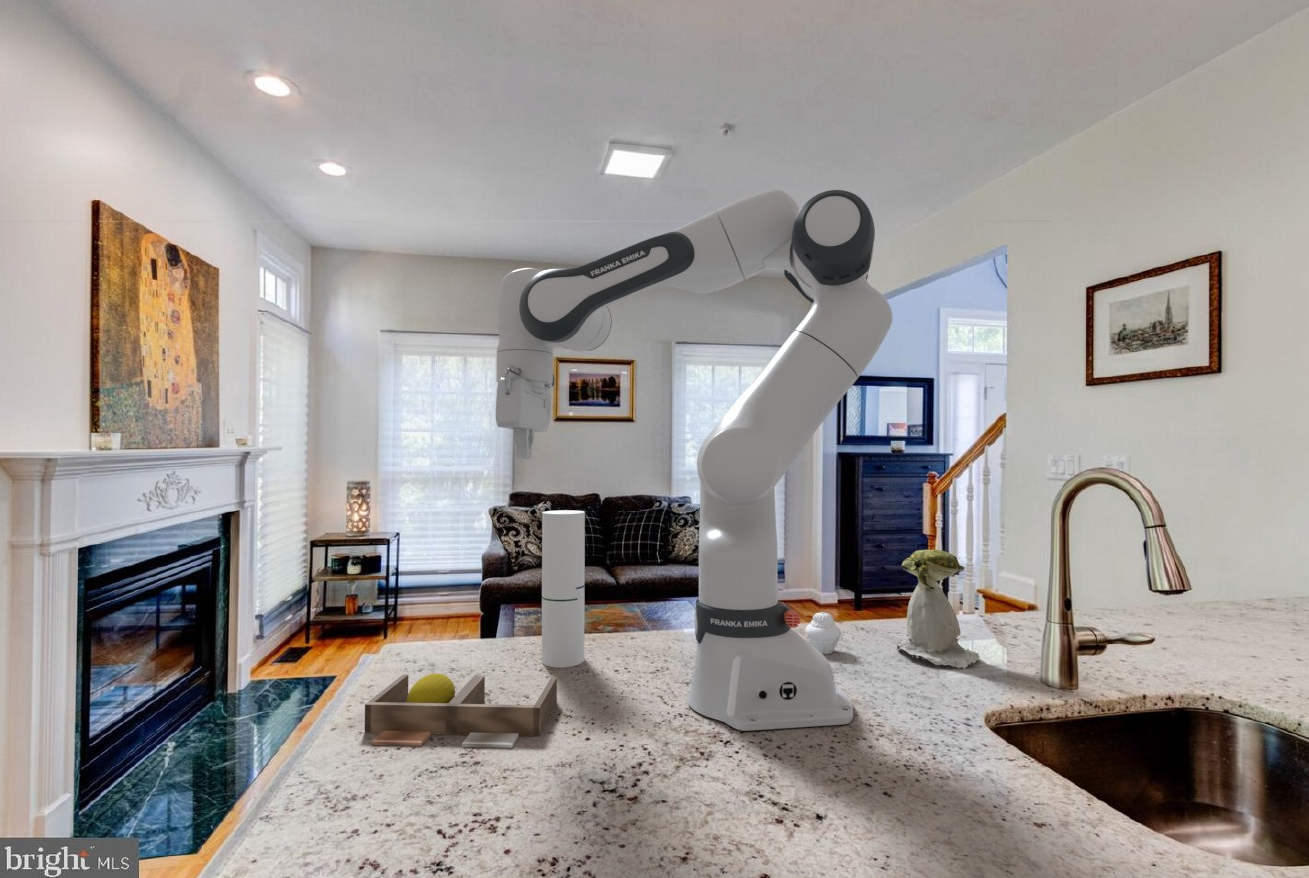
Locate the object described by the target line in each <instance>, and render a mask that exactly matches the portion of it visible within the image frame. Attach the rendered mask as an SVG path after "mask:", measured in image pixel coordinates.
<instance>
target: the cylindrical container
mask: <svg viewBox="0 0 1309 878" xmlns="http://www.w3.org/2000/svg"><path fill="white" fill-rule="evenodd" d="M541 515H542V516H541V517H542V518H541V519H542V521H541V523H542V524H541V528H542V530H541V531H542V533H541V535H542V536H541V537H542V538H541V539H542V542H541V546H542V549H541V557H542V559H541V568H542V569H541V596H542V597H541V663H542V664H543V665H544V666H547V667H549V668H571V667H575V666H578V665H581V664H583V663H584V661H585V604H586V603H585V600H586V599H585V598H586V597H585V587H586V586H585V582H586V581H585V578H586V577H585V575H586V574H585V572H586V570H585V569H586V568H585V561H586V559H585V557H586V555H585V554H586V550H585V549H586V547H585V545H586V544H585V543H586V542H585V541H586V540H585V539H586V538H585V537H586V530H585V527H586V526H585V525H586V522H585V521H586V512H585V511H584V510H572V509H570V510H568V509H567V510H563V509H562V510H547V511H542V513H541Z"/></svg>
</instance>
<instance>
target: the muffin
mask: <svg viewBox="0 0 1309 878" xmlns="http://www.w3.org/2000/svg"><path fill="white" fill-rule="evenodd" d="M804 633H805V635H806V638H807V641H808V642H809V643H810V644H811V645H812V646H814V647H815V648H816V649H817V650H819V651H820V652H821V653H831V652H833V653H834V650H835V649H836V648H837V645H838V643H839V641H840V638H841V637H842V631H841V629H840V628H839V626H838V625H837V624H836V622H835V621H834V617H833V616H832V615H831V614H830V613H828V612H824V611H822V612H816V613H815V614H814V615H812V620H811V621H810V623H809V624H808V625H806V627H805V629H804ZM831 654H832V653H831Z"/></svg>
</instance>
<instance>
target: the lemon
mask: <svg viewBox="0 0 1309 878" xmlns="http://www.w3.org/2000/svg"><path fill="white" fill-rule="evenodd" d="M455 696H456V688H455V685H454V682H453V680H452V679H451V678H450V677H448V676H447V675H445V674H443V673H442V674H441V673H437V672H436V673H429V674H427V675H425V676H423V677H421V678H420V679H419V680H417V681H416V682H415V683H414V684H413V686H412V687H411V688H410V690H408V696H407V701H406V703H447V704H448V703H449V702H450V701H451V700H452V699H453V698H454V697H455Z"/></svg>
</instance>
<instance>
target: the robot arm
mask: <svg viewBox="0 0 1309 878" xmlns="http://www.w3.org/2000/svg"><path fill="white" fill-rule="evenodd" d="M875 233H876V232H875V223H874V218H873V216H872V213H871V210H870V209H869V207H868V205H867V204H866V202H865V201H864V200H863V199H862V198H861V197H860V196H858V195H857V194H856V193H853V192H851V191H848V190H842V189H830V190H827V191H822V192H819V193H818V194H816V195H813V196H812V197H811V198H810V199H809V200H807V201H806V203H804V204H803V206H802V207H801V208H800V207H799V205H798V203H797V202H796V201H795V200H794V198H793V197H792V196H790V194H788V193H787V192H785V191H783V190H780V189H771V190H766V191H761V192H758V193H755V194H753V195H749V196H746V197H743V198H741V199H740V198H739V199H738V200H735V201H732V202H730V203H728V204H726V205H724V206H722V207H719V208H718V209H717V208H716V209H715V210H712V211H710V212H709V213H707V214H705V215H703V216H701V217H698V218H697V219H695V220H693V221H691V222H688V223H686V224H684V225H682V226H680V227H678V228H674V229H672V230H670V231H668V232H667V231H666V232H664V233H661V234H660V235H657V236H654V237H651V238H648V239H645V240H642V241H639V242H637V243H634V244H631V245H630V246H627V247H625V248H623V249H619V250H617V251H615V252H613V253H610V254H608V255H606V256H603V257H601V258H598V259H596V260H594V261H593V260H592V261H591V262H589V263H585V264H583V265H579V266H575V267H568V268H552V269H547V270H544V269H541V268H536V267H523V268H518V269H515V270H512V271H510V272H508V273H507V274H505V276H504V277H503V279H502V281H501V283H500V286H499V290H498V297H497V308H496V310H497V311H496V327H497V331H498V335H499V337H498V339H499V340H498V345H497V348H496V376H495V377H496V381H495V382H496V383H497V388H496V400H495V423H496V425H497V427H498V428H503V429H510V430H513V439H514V443H515V447H516V452H515V453H516V455H515V456H516V459H521V460H523V459H524V460H525V459H527V460H528V459H529V460H530V459H532V458H533V457H532V456H533V446H534V442H535V438H536V437H535V434H536V433H538V432H541V433H542V432H546V433H547V432H548V429H549V426H550V421H551V410H552V409H551V407H552V406H551V405H552V390H551V389H554V388H555V386H556V381H555V380H556V378H555V375H554V366H553V365H554V363H553V362H554V361H553V360H554V350H555V349H557V348H561V349H567V350H571V351H574V352H578V353H579V352H589V351H593V350H596V349H597V348H599V347H600V346H602V345H603V344H604V343H605V342H606V340H607V339H608V337H609V336H610V333H611V330H612V324H613V321H612V314H611V311H610V309H609V307H608V306H610V305H612V304H615V303H618V302H620V301H622V300H624V299H627V298H629V297H632V296H634V295H637V294H639V293H642V292H644V291H647V290H651V289H657V288H672V289H673V288H675V289H679V290H684V291H687V292H691V293H694V294H699V295H704V294H706V295H707V294H710V293H713V292H717V291H720V290H721V291H722V290H723V289H727V288H730V287H732V286H735V285H737V284H739V283H741V282H744V281H745V280H747V279H750V278H751V277H754V276H755V275H757V274H760V273H762V272H765V271H767V270H771V269H776V268H777V269H778V268H779V269H783V274H784V277H785V278H786V279H787V280H788V281H789V282H790V283H791V284H792V286H793V287H794V288H795V289H796V290H797V291H798V293H800V294H801V295H802V296H803V297H804V298H805V299H806V300H807V301H808V302H809V303H811V304H812V305H811V307H810V309H809V311H808V312H807V314H806V315H805V317H804V318H803V319H802V320H801V321H800V323H799V324H798V325H797V326H796V328H795V329H794V330H793V331H792V332H791V334H790V335H789V336H788V338H787V339H786V340H785V341H784V343H783V344H782V345H781V346H780V348H779V349H778V350H777V352H775V354H774V355H773V356H772V358H771V359H770V360H769V361H768V362H767V364H766V365H765V366H764V368H763V369H762V370H761V372H760V373H759V374H758V375H757V376H756V378H755V379H754V380H753V381H752V382H751V383H750V384H749V386H748V387H747V388H746V389H745V390H744V392H743V393H742V394H741V395H740V396H739V397H738V399H737V400H736V401H735V402H734V404H733V405H732V406H731V407H730V409H729V410H728V411H727V412H726V413H725V414H724V416H722V418H721V419H720V421H719V422H718V423H717V424H716V426H715V427H714V428H713V429H712V430H711V431H710V433H709V434H708V435H707V436H706V437H705V439H704V440H703V442H702V444H701V445H700V448H699V450H698V453H697V458H696V470H697V475H698V478H699V481H700V482H699V483H700V484H699V490H700V491H699V527H698V528H699V529H698V533H699V534H698V535H699V536H698V598H697V599H696V601H695V607H694V636H695V640H696V654H695V660H694V661H695V663H694V667H693V668H694V669H693V675H692V678H691V679H692V680H691V684H690V687H689V692H688V694H687V697H686V700H687V701H686V702H687V704H688V706H689V707H690V708H691V709H692V710H694V711H695V712H697V713H698V714H701V715H702V716H705V717H707V718H709V719H710V718H711V719H714V720H717V721H720V722H722V723H724V724H727V726H730V727H732V728H734V729H736V730H738V731H744V732H745V731H746V732H747V731H762V730H763V731H764V730H776V729H777V730H779V729H793V728H794V729H795V728H808V727H811V728H812V727H822V726H824V727H825V726H840V725H847V724H850V723H851V722H852V720H853V719H854V706H853V703H852V700H851V699H850V697H849V695H848V694H847V693H846V692H845V691H844V690H843V689H842V688H841V687H839V686H837V685H836V682H835V677H834V673H833V670H832V667H831V664H830V663H829V661H828V659H827V657H826V656H825V654H822V653H821V652H820V651H819V650H817V649H816V648H815V647H814V646H812V645H811V644H810V642H809V641H808V640H806V639H805V638H804V637H803V636H801V635H800V634H799V633H797V631H795V630H793V629H795V628H797V627H799V625H801V621H802V620H801V616H800V615H799V614H798V612H797V611H796V610H795V609H792V607H790V606H789V605H787V604H786V603H785V602H781V601H780V600H778V598H779V597H778V593H779V591H778V582H779V581H778V580H779V579H778V569H779V567H778V563H779V562H778V559H779V558H778V536H777V535H778V534H777V518H776V517H777V514H776V513H777V512H776V493H775V492H776V489H775V487H776V486H777V484H778V483H779V482H780V481H781V479H782V478H783V476H784V475H785V474H786V473H787V471H788V470H789V468H790V467H791V466H792V464H793V463H794V462H795V461H796V459H797V458H798V456H799V455H800V454H801V453H802V451H803V450H804V448H805V447H806V446H807V444H808V443H809V441H810V440H811V438H812V437H813V436H814V434H815V433H816V431H817V430H818V428H819V427H820V426H821V425H822V423H823V422H824V420H826V418H827V417H828V416H829V415H830V414H831V412H832V411H833V410H834V408H835V407H836V406H837V405H838V403H839V402H840V401H841V400H842V398H843V397H844V396H845V395H846V393H848V391H849V390H850V388H852V386H853V385H854V384H855V382H856V381H857V380H858V379H859V377H860V376H861V375H862V373H863V372H864V371H865V369H866V368H867V367H868V365H869V364H870V362H871V361H872V360H873V358H874V357H875V355H876V353H877V352H878V350H879V349H880V348H881V345H882V343H883V342H884V340H885V338H886V336H887V334H888V332H889V330H890V329H891V326H892V323H893V310H892V308H891V305H890V303H889V302H888V301H887V299H886V297H885V296H884V295H883V294H882V293H881V292H880V291H878V290H877V289H875V288H874V287H873V286H871V284H870V283H869V282H868V277H869V271H870V267H871V264H872V261H873V258H874V247H875V246H874V243H875V237H876V236H875ZM792 628H793V629H792Z"/></svg>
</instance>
